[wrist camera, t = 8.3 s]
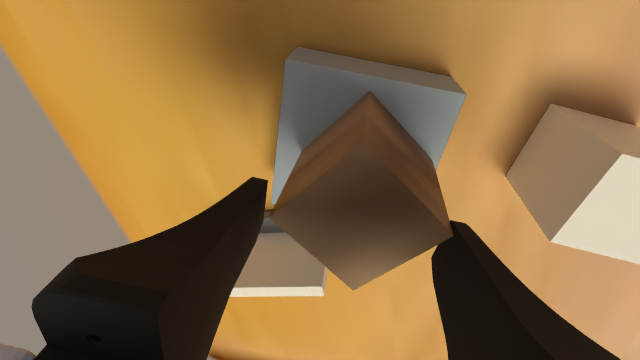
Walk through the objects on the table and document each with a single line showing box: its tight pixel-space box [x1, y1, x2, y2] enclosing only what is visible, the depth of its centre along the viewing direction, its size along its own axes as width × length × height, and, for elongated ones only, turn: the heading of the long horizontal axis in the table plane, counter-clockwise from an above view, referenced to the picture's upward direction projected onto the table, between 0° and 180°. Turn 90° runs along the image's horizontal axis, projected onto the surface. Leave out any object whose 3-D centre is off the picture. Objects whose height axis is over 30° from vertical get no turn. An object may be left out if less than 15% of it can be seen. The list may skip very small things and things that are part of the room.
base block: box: [271, 46, 467, 204], centre depth 19 cm, size 8×8×4 cm
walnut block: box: [269, 91, 454, 290], centre depth 15 cm, size 5×5×6 cm
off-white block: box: [505, 104, 640, 264], centre depth 17 cm, size 5×5×6 cm
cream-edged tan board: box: [230, 211, 328, 297], centre depth 23 cm, size 7×4×6 cm, turn 99°
